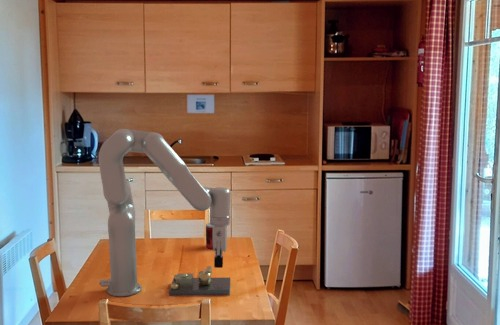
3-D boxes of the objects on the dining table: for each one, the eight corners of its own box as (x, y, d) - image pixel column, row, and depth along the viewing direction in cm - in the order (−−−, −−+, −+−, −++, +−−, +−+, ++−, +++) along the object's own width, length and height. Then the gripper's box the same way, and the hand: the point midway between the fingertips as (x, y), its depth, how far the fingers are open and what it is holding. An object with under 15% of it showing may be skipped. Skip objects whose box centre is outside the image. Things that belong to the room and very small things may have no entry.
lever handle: (209, 285, 211) (209, 273, 210) (197, 284, 211) (197, 273, 210) (215, 274, 223) (215, 263, 222) (203, 273, 223) (203, 262, 223)
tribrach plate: (169, 295, 207) (168, 280, 206) (173, 283, 220) (173, 269, 219) (229, 294, 207) (229, 280, 206) (230, 282, 220) (230, 268, 219)
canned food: (226, 246, 268) (225, 223, 267) (216, 250, 262) (215, 227, 260) (212, 243, 272) (212, 221, 271) (202, 248, 266) (202, 225, 264)
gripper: (229, 225, 207) (227, 273, 210) (229, 216, 222) (228, 261, 225) (208, 224, 207) (207, 273, 210) (210, 215, 222) (209, 260, 225)
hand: (218, 266), depth 217 cm, fingers closed
